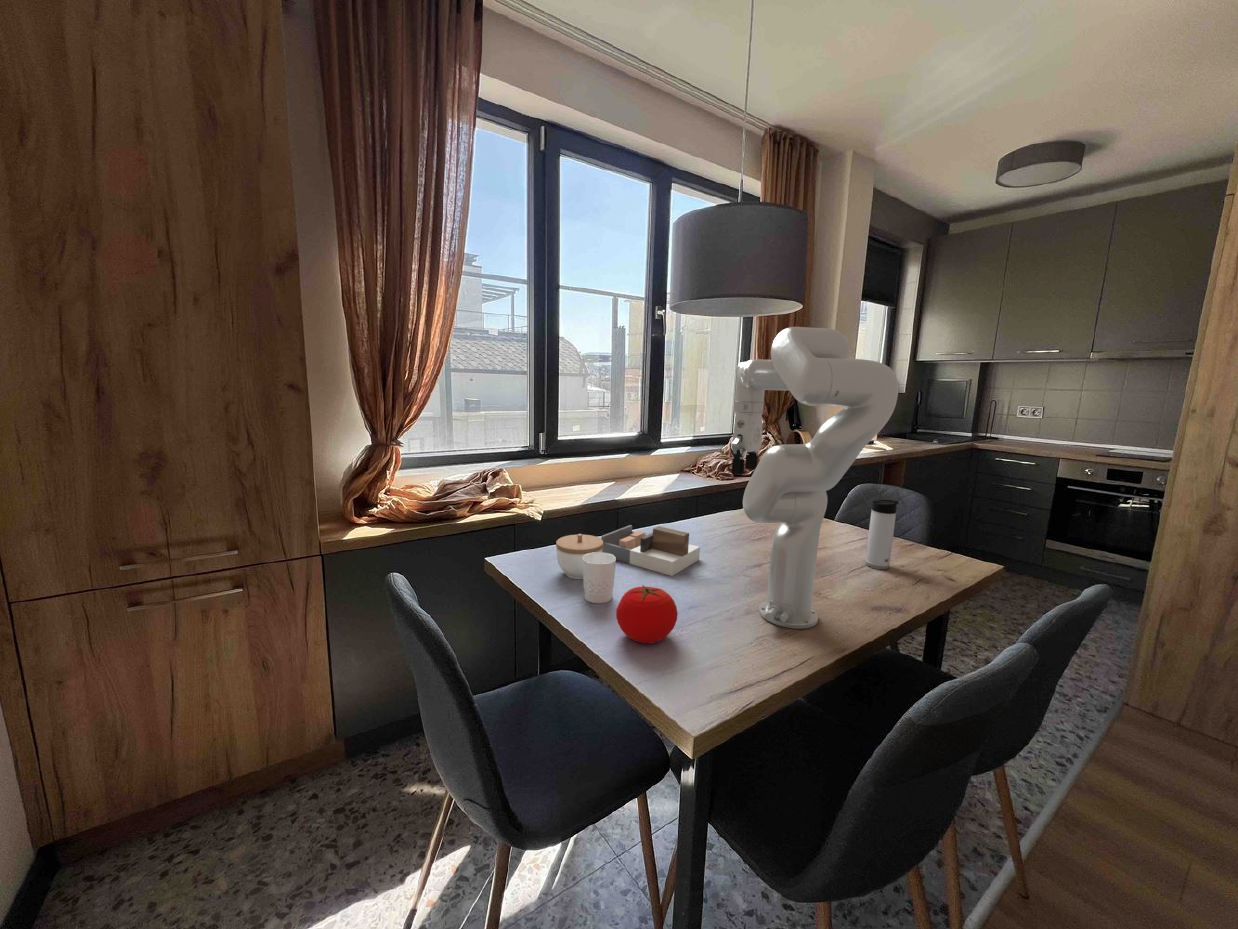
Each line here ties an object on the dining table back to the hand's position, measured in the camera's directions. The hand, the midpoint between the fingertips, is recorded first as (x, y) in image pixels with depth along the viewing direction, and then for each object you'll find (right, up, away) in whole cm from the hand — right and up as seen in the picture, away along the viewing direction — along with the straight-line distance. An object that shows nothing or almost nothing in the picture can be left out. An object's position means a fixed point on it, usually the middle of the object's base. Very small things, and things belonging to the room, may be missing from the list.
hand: (744, 471), depth 132 cm
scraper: (-20, -23, +6) cm, 31 cm away
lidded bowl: (-45, -28, -2) cm, 53 cm away
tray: (-31, -25, +15) cm, 43 cm away
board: (-21, -26, +9) cm, 35 cm away
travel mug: (+42, -28, +10) cm, 51 cm away
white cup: (-39, -30, -16) cm, 52 cm away
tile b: (-28, -22, +16) cm, 39 cm away
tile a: (-31, -23, +10) cm, 40 cm away
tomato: (-29, -34, -33) cm, 56 cm away
